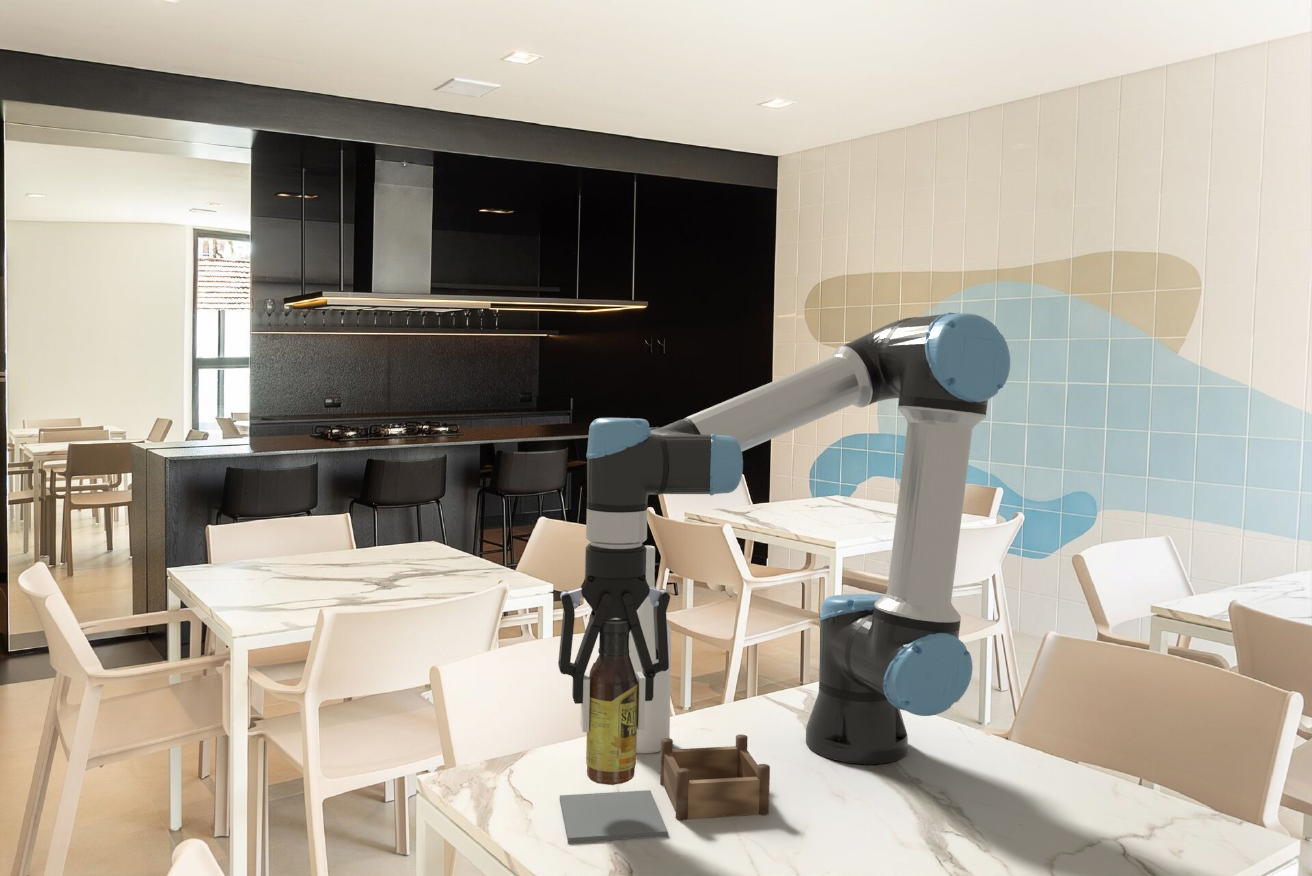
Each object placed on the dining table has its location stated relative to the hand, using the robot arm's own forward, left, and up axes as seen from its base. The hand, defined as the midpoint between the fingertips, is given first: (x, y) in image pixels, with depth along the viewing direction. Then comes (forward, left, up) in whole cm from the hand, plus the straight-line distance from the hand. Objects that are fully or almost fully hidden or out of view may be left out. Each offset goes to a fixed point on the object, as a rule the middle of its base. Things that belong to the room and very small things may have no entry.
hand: (612, 726), depth 122 cm
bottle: (-8, -24, -12) cm, 28 cm away
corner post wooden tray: (-14, -4, -12) cm, 19 cm away
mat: (0, 0, -12) cm, 12 cm away
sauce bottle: (0, 0, -7) cm, 7 cm away
